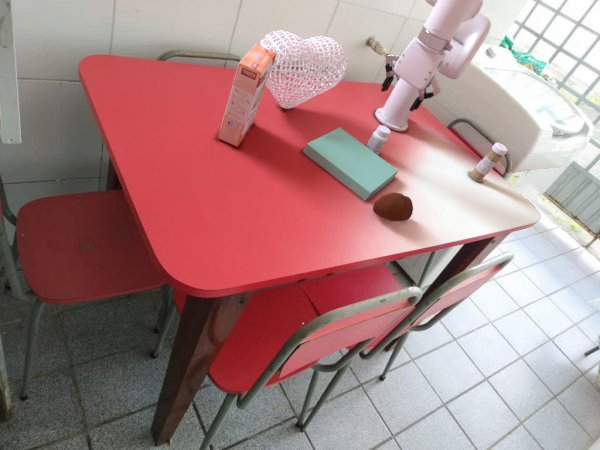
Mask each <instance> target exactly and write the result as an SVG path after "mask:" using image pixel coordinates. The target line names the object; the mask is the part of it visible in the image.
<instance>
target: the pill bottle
mask: <svg viewBox="0 0 600 450" xmlns="http://www.w3.org/2000/svg"><path fill="white" fill-rule="evenodd" d="M390 134H391V129H390V128H388V127H386V126H385V125H383V124H379V125H378V126H377V128H376V130H374V131H373V132H372V134H371V136H370V138H369V140H368V141H367V143H366V145H365V146H366V147H367V148H369V149H370V150H371V151H373V152H374V153H375V154H377V155H378V156H380V154H381V152H382V150H383V149H384V147H385V145H386V144H387V142H388V140H389V137H390Z"/></svg>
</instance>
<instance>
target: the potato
mask: <svg viewBox="0 0 600 450" xmlns="http://www.w3.org/2000/svg"><path fill="white" fill-rule="evenodd" d="M372 211H373V213H374V214H375V215H376V216H377V217H379V218H381V219H383V220H387V221H390V222H406V221H409V219H411V217H412V215H413V211H414V205H413V201H412V199H411V198H410V197H409V196H407V195H404V194H403V193H401V192H395V191H394V192H389V193H386V194H383V195H381V196H379V197H378V198H377V199H376V200H375V201H374V203H373V206H372Z"/></svg>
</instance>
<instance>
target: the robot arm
mask: <svg viewBox="0 0 600 450" xmlns="http://www.w3.org/2000/svg"><path fill="white" fill-rule="evenodd" d="M424 1H425V2H426V3H427V4H428V5H430V6H432V7H433V8H432V9H431V12H430V13H429V15H428V17H427V19H426V20H425V22H424V24H423V26H422V28H421V30H420V31H419V33H418V35H417V36H414V37H413V39H412V40H411V41H410V42H409V43H408V44H407V46H406V47H405V49H404V50H403V52H402V53H401V55H399V54H398V55H397V54H388V55H386V56H385V65H384V68H385V79H384V81H382V84H381V87H382V88H381V89H380V91H381V92H386V91H388V90H389V88H390V87H391V85H392V83H393V81H394V79H395V78H394V76H398V77H399V79H398V80H397V82H396V83H395V85H394V87H393V89H392V91H391V93H389V96H388V98H387V100H386V101H385V104H384V105H383V106H382V107H379V108H377V109H376V110H375V112H374V115H375V117H376V119H377V120H378V122H380V123H381V125H383V126H386V127H387V128H389V130H393V131H396V132H405V131H407V130H408V128H409V124H408V120H409V118H410V117H411V114H412V113H413V111H415V110H416V111H417V110H419V108H420V106H421V105H422V103H423V102H424V100H428V99H431V98H433V97H435V96H437V95H438V94H440V93H441V92H442V88H441V85H440V84H439V82H438V80H437V78H436V76H437V75H438V73H439V74H441V75H443V76H444V77H446V78H449V79H451V80H457V79H459V78H460V77H461V76H463V74H464V73H465V72H466V70H467V68H469V66H470V64H471V63H472V61H473V59H474V58H475V56H476V55H477V53H478V51H479V50H480V48H481V46H482V45H483V43H484V42H485V40H486V38H487V36H488V35H489V32H490V30H491V27H492V23H491V20H490V18H489V17H487V16H486V15H484V14H482V13H481V12H480V11H481V9H482V7H483V4H484V2H483V1H484V0H424ZM392 62H395V65H394V67H393V63H392ZM430 86H432V88H433V90H432V91H431V92H428V88H429V87H430Z"/></svg>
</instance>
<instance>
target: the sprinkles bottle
mask: <svg viewBox="0 0 600 450" xmlns="http://www.w3.org/2000/svg"><path fill="white" fill-rule="evenodd" d="M507 152H508V147H506V145H504V144H502V143H500V142H495V143H494V144H493V145H492V146H491V148H490V149H489V151H488V152H487V153H486V154H485V155H484V156H483V157H482V159H481V160H480V161H479V162H478V163H477V165H475V167H474V168H473V170H472V171H471V172H470V173H469V176H470V177H471V178H472V180H474V181H476V182H478V183H479V182H482V181H483V180H484V178H485V177H486V176H487V175H488V174H489V173H490V172H491V170H493V169H494V167H495V166H496V165H497V163H498V162H499V161H500V160H501V159H502V157H504V156H505V155H506V154H507Z"/></svg>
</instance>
